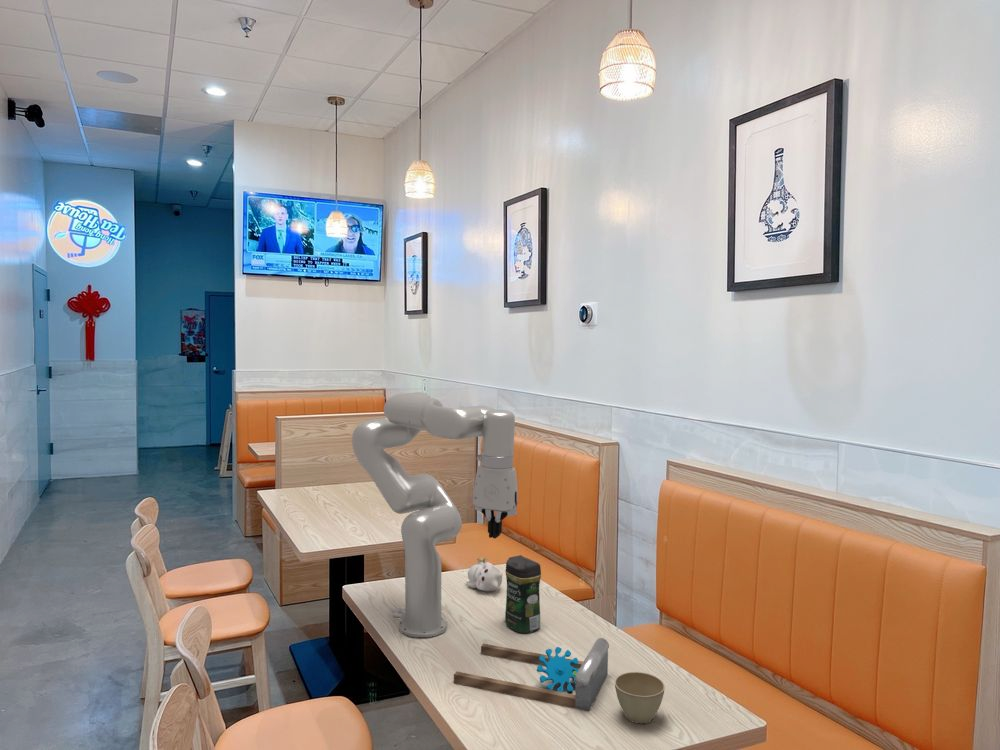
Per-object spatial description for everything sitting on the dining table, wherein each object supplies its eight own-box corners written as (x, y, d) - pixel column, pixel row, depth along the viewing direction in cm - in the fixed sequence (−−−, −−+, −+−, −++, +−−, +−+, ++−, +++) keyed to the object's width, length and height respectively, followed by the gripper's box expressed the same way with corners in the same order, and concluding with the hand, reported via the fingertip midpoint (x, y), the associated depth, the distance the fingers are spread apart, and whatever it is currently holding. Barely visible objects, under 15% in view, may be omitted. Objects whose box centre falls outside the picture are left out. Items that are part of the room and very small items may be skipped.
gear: (538, 690, 151) (537, 643, 158) (532, 699, 155) (532, 653, 162) (588, 694, 152) (585, 648, 159) (581, 703, 157) (578, 657, 163)
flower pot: (609, 705, 148) (609, 672, 148) (655, 703, 149) (656, 670, 148) (621, 732, 138) (621, 696, 138) (670, 730, 139) (671, 694, 138)
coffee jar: (500, 624, 189) (500, 556, 188) (523, 617, 194) (524, 551, 193) (521, 636, 181) (521, 566, 180) (545, 629, 186) (546, 560, 185)
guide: (453, 683, 157) (453, 674, 157) (483, 651, 173) (483, 643, 173) (575, 708, 147) (575, 698, 147) (594, 672, 163) (594, 663, 162)
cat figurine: (468, 552, 221) (496, 559, 209) (486, 562, 225) (515, 569, 213) (456, 582, 218) (484, 590, 206) (475, 591, 222) (504, 599, 210)
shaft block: (574, 709, 146) (574, 671, 146) (594, 671, 163) (595, 637, 163) (589, 712, 145) (589, 674, 145) (608, 673, 162) (609, 639, 161)
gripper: (462, 460, 168) (459, 536, 169) (520, 468, 162) (517, 546, 163) (475, 455, 175) (473, 527, 176) (532, 462, 169) (528, 537, 170)
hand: (494, 536), depth 170 cm, fingers closed
